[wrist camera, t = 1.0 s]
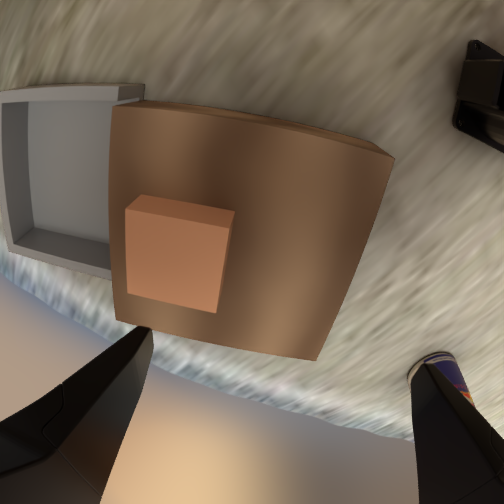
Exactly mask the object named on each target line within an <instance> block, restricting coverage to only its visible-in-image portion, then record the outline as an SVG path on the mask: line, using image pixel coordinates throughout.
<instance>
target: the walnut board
mask: <svg viewBox="0 0 504 504" xmlns="http://www.w3.org/2000/svg"><path fill="white" fill-rule="evenodd" d="M394 160H395V158H394V157H392V156H391V155H389V154H388V153H387V152H385V151H384V150H382V149H381V148H379V147H378V146H376V145H375V144H373V143H371V142H367V141H364V140H361V139H357V138H354V137H350V136H347V135H343V134H339V133H335V132H332V131H328V130H324V129H320V128H316V127H312V126H308V125H303V124H299V123H294V122H290V121H285V120H281V119H276V118H271V117H266V116H260V115H255V114H250V113H244V112H238V111H232V110H226V109H219V108H212V107H205V106H197V105H189V104H180V103H171V102H160V101H148V100H141V101H135V102H130V103H125V104H120V105H115V106H112V116H111V129H110V146H109V174H108V217H109V245H110V262H111V276H112V288H113V298H114V308H115V316H116V320H118V321H121V322H125V323H129V324H132V325H136V326H139V325H141V326H146V327H150V328H151V329H152V330H155V331H160V332H164V333H168V334H172V335H176V336H180V337H185V338H189V339H194V340H198V341H203V342H207V343H212V344H217V345H222V346H227V347H232V348H237V349H243V350H248V351H254V352H259V353H265V354H271V355H277V356H283V357H290V358H297V359H304V360H311V361H316V360H317V357H318V355H319V353H320V351H321V349H322V347H323V345H324V343H325V341H326V338H327V336H328V334H329V332H330V330H331V328H332V325H333V323H334V321H335V319H336V316H337V314H338V312H339V310H340V307H341V305H342V303H343V300H344V298H345V296H346V293H347V291H348V288H349V286H350V284H351V281H352V279H353V276H354V274H355V271H356V269H357V266H358V264H359V261H360V259H361V256H362V253H363V251H364V248H365V246H366V243H367V240H368V238H369V235H370V232H371V229H372V227H373V224H374V221H375V218H376V215H377V213H378V210H379V207H380V204H381V201H382V198H383V195H384V192H385V189H386V186H387V183H388V180H389V176H390V173H391V170H392V167H393V164H394ZM141 194H143V195H148V196H154V197H160V198H166V199H171V200H177V201H183V202H188V203H194V204H199V205H205V206H210V207H215V208H220V209H226V210H231V211H235V216H234V221H233V227H232V233H231V239H230V245H229V251H228V257H227V263H226V269H225V275H224V281H223V287H222V292H221V296H220V300H219V304H218V308H217V312H216V313H212V312H207V311H202V310H198V309H193V308H188V307H184V306H180V305H175V304H171V303H166V302H162V301H158V300H154V299H149V298H145V297H141V296H137V295H133V294H129V293H127V274H126V244H125V209H126V208H127V207H128V206H129V205H130V204H131V203H132V202H133V201H134V200H135V199H137V198H138V197H139V196H140V195H141Z"/></svg>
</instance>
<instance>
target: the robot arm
mask: <svg viewBox="0 0 504 504" xmlns="http://www.w3.org/2000/svg"><path fill="white" fill-rule="evenodd" d="M475 44H476V45H477V47H478V50H476V48H475ZM457 95H458V101H457V105H456V109H455V113H454V117H453V126H454V128H456V129H457V130H459V131H461V132H463V133H465V134H467V135H469V136H471V137H474V138H476V139H478V140H479V141H481V142H483V143H485V144H487V145H489V146H491V147H493V148H495V149H497V150H498V151H500V152H502V153H504V56H502V55H501V54H499V53H498V52H496V51H495V50H493V49H492V48H490V47H489V46H487V45H485V44H484V43H482V42H480V41H479V40H471V41H470V42H469V46H468V52H467V57H466V61H464V65H463V70H462V75H461V80H460V84H459V89H458V93H457ZM459 120H461V121H462V124H461V126H459ZM153 349H154V344H153V334H152V329H151V328H150V327H146V326H141V325H139V326H137V327H136V328H134V329H133V330H132V331H130V332H129V333H128V334H126V335H125V336H124V337H122V338H121V339H120V340H118V341H117V342H116V343H114V344H113V345H112V346H110V347H109V348H108V349H106V350H105V351H103V352H102V353H101V354H100V355H98V356H97V357H95V358H94V359H93V360H92V361H90V362H89V363H87V364H86V365H85V366H83V367H82V368H81V369H79V370H78V371H77V372H75V373H74V374H73V375H72V376H70V377H69V378H68V379H66V380H65V381H64V382H62V384H59V385H58V386H57V387H55V388H54V389H53V390H51V391H50V392H48V393H47V394H46V395H44V396H43V397H41V398H40V399H38V400H37V401H35V402H33V403H32V404H30V405H29V406H27V407H25V408H23V409H22V410H20V411H18V412H17V413H15V414H13V415H12V416H10V417H8V418H6V419H4V420H3V421H1V422H0V504H100V501H101V498H102V497H101V496H102V495H103V492H104V489H105V487H106V484H107V481H108V478H109V476H110V473H111V470H112V467H113V465H114V462H115V459H116V457H117V454H118V451H119V449H120V446H121V444H122V440H123V438H124V436H125V433H126V431H127V428H128V426H129V423H130V420H131V418H132V415H133V413H134V410H135V408H136V405H137V403H138V400H139V398H140V395H141V392H142V389H143V386H144V382H145V379H146V375H147V371H148V368H149V364H150V361H151V357H152V354H153ZM411 404H412V424H413V433H414V441H415V451H416V461H417V474H418V489H419V504H504V439H503V438H502V437H501V436H500V435H499V434H498V433H497V432H496V430H495V429H494V428H493V427H491V425H490V424H489V423H488V422H487V420H486V419H485V418H484V417H483V416H482V415H481V414H480V413H479V412H478V410H477V409H476V408H475V407H474V406H473V405H472V404H471V403H470V402H469V401H468V400H467V399H466V397H465V396H464V395H463V394H462V393H461V392H460V391H459V390H458V389H457V388H456V387H455V386H454V385H453V384H452V383H451V381H450V380H449V379H448V378H447V377H446V376H445V375H444V374H443V373H442V372H441V371H440V370H439V369H438V368H437V367H436V366H435V365H434V364H433V363H423V364H421V365H420V367H419V368H418V370H417V371H416V372H415V374H414V375H413V377H412V379H411Z"/></svg>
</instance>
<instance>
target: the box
mask: <svg viewBox="0 0 504 504" xmlns="http://www.w3.org/2000/svg"><path fill="white" fill-rule="evenodd" d="M144 89H145V84H123V83H72V84H50V85H36V86H26V87H20V88H14V89H9V90H4V91H0V206H1V213H2V219H3V225H4V230H5V236H6V241H7V246H8V251H9V252H12V253H16V254H19V255H22V256H25V257H29V258H32V259H35V260H39V261H42V262H46V263H49V264H53V265H56V266H60V267H63V268H67V269H70V270H74V271H78V272H81V273H85V274H89V275H93V276H96V277H100V278H104V279H108V280H112V276H111V262H110V245H109V217H108V174H109V146H110V129H111V116H112V106H115V105H120V104H125V103H130V102H135V101H141V100H143V97H144Z"/></svg>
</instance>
